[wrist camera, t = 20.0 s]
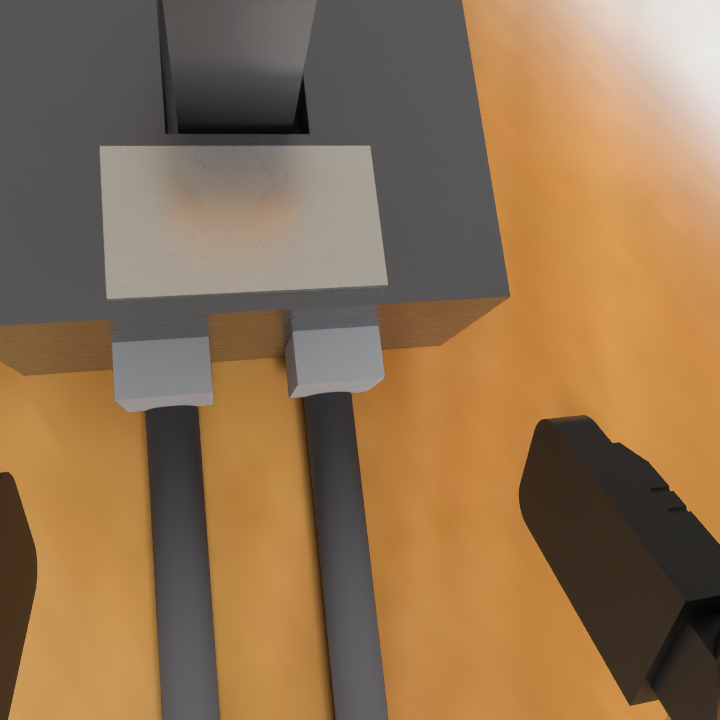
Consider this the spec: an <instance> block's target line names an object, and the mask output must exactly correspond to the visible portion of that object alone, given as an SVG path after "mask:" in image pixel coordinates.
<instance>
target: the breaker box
mask: <svg viewBox="0 0 720 720" xmlns="http://www.w3.org/2000/svg"><path fill="white" fill-rule="evenodd" d="M509 297H510V292H509V286H508V280H507V274H506V268H505V261H504V255H503V249H502V243H501V237H500V231H499V225H498V219H497V213H496V206H495V200H494V194H493V188H492V182H491V176H490V170H489V164H488V158H487V151H486V145H485V139H484V133H483V127H482V121H481V115H480V109H479V103H478V96H477V90H476V84H475V78H474V72H473V66H472V60H471V54H470V47H469V41H468V35H467V29H466V23H465V17H464V11H463V5H462V0H317V2H316V7H315V12H314V17H313V23H312V28H311V33H310V39H309V44H308V49H307V54H306V60H305V65H304V70H303V76H302V81H301V86H300V91H299V97H298V102H297V107H296V113H295V118H294V123H293V129H292V134H179V133H178V124H177V116H176V108H175V99H174V91H173V83H172V75H171V66H170V58H169V50H168V42H167V33H166V25H165V17H164V8H163V0H0V361H1V362H3V363H4V364H6V365H8V366H9V367H11V368H12V369H14V370H16V371H17V372H19V373H21V374H22V375H37V374H51V373H65V372H79V371H93V370H106V369H113V356H112V343H118V342H133V341H149V340H164V339H180V338H196V337H209V348H210V360H211V362H217V361H231V360H245V359H258V358H272V357H285V348H286V346H287V343H288V341H289V339H290V336H291V334H292V332H293V331H305V330H321V329H336V328H352V327H367V326H379V333H380V341H381V349H382V350H383V349H396V348H410V347H424V346H438V345H442V344H443V343H445V342H446V341H448V340H449V339H450V338H452V337H453V336H455V335H456V334H458V333H459V332H461V331H462V330H463V329H465V328H466V327H468V326H469V325H471V324H472V323H473V322H475V321H476V320H478V319H479V318H481V317H482V316H483V315H485V314H486V313H488V312H489V311H491V310H492V309H493V308H495V307H496V306H498V305H499V304H501V303H502V302H503V301H505V300H506V299H508V298H509Z"/></svg>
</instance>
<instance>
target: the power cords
mask: <svg viewBox="0 0 720 720" xmlns="http://www.w3.org/2000/svg"><path fill="white" fill-rule="evenodd" d="M112 356H113V377H114V399H115V401H116V402H117V403H118V404H119V405H120V406H121V407H123V408H124V409H125V410H126V411H127V412H137V411H145V413H146V431H147V449H148V467H149V485H150V503H151V521H152V539H153V557H154V575H155V593H156V611H157V629H158V647H159V665H160V683H161V701H162V719H163V720H220V713H219V699H218V685H217V670H216V656H215V642H214V628H213V614H212V599H211V585H210V571H209V557H208V543H207V528H206V514H205V500H204V486H203V472H202V457H201V443H200V429H199V415H198V407H197V406H206V405H214V400H213V386H212V373H211V360H210V348H209V337H196V338H180V339H164V340H149V341H133V342H118V343H112ZM285 361H286V371H287V381H288V392H289V398H299V397H304V398H303V399H304V409H305V419H306V429H307V439H308V449H309V459H310V469H311V479H312V489H313V498H314V508H315V518H316V528H317V538H318V548H319V558H320V568H321V578H322V588H323V598H324V608H325V618H326V628H327V638H328V648H329V658H330V668H331V678H332V688H333V698H334V708H335V718H336V720H388V711H387V702H386V693H385V685H384V676H383V667H382V658H381V650H380V641H379V632H378V623H377V615H376V606H375V597H374V588H373V579H372V571H371V562H370V553H369V544H368V536H367V527H366V518H365V509H364V501H363V492H362V483H361V474H360V466H359V457H358V448H357V439H356V430H355V422H354V413H353V404H352V395H351V393H356V392H367V391H368V390H369V389H371V388H372V387H373V386H375V385H376V384H378V383H379V382H380V381H382V380H383V379H384V378H385V373H384V365H383V357H382V349H381V341H380V333H379V326H367V327H352V328H336V329H321V330H305V331H293V332H292V334H291V336H290V339H289V341H288V343H287V346H286V348H285Z"/></svg>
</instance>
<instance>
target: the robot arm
mask: <svg viewBox="0 0 720 720" xmlns="http://www.w3.org/2000/svg"><path fill="white" fill-rule="evenodd" d="M519 503H520V508H521V513H522V516H523V519H524V521H525V523H526V525H527V527H528V529H529V530H530V532H531V534H532V536H533V537H534V539H535V541H536V543H537V544H538V546H539V548H540V550H541V551H542V553H543V555H544V556H545V558H546V560H547V562H548V563H549V565H550V567H551V569H552V570H553V572H554V574H555V576H556V577H557V579H558V581H559V583H560V584H561V586H562V588H563V590H564V591H565V593H566V595H567V597H568V598H569V600H570V602H571V604H572V605H573V607H574V609H575V611H576V612H577V614H578V616H579V618H580V619H581V621H582V623H583V625H584V626H585V628H586V630H587V632H588V633H589V635H590V637H591V639H592V640H593V642H594V644H595V646H596V647H597V649H598V651H599V653H600V654H601V656H602V658H603V660H604V661H605V663H606V665H607V667H608V668H609V670H610V672H611V674H612V675H613V677H614V679H615V681H616V682H617V684H618V686H619V688H620V689H621V691H622V693H623V695H624V696H625V698H626V700H627V702H628V703H629V705H630V706H632V705H636V704H641V703H645V702H650V701H655V700H660V702H661V704H662V705H663V707H664V709H665V710H666V712H667V713H668V715H667V717H666V719H665V720H720V544H719V543H718V542H717V541H716V540H715V539H714V538H713V536H712V535H711V534H710V533H709V532H708V531H707V529H706V528H705V527H704V526H703V525H702V524H701V522H700V521H699V520H698V519H697V518H696V517H695V516H694V514H693V513H692V512H691V511H690V512H688V511H687V509H686V505H685V504H684V503H683V502H682V500H681V499H680V498H679V497H678V496H677V495H676V493H675V492H674V491H670V490H669V485H668V484H667V483H666V482H665V481H664V480H663V478H662V477H661V476H660V475H659V474H658V473H657V471H656V470H655V469H654V468H653V467H652V466H651V464H650V463H649V462H648V461H646V460H645V459H643V458H642V457H640V456H639V455H637V454H636V453H634V452H633V451H631V450H630V449H628V448H627V447H625V446H624V445H622V444H621V443H612V442H611V441H610V440H609V439H608V437H607V436H606V435H605V434H604V432H603V431H602V430H601V429H600V428H599V426H598V425H597V424H596V423H595V422H594V421H593V420H592V419H591V418H590V417H588V416H585V415H580V416H571V417H561V418H551V419H543V420H541V421H539V423H538V424H537V426H536V428H535V431H534V434H533V438H532V442H531V445H530V449H529V453H528V457H527V460H526V464H525V468H524V471H523V475H522V479H521V483H520V487H519ZM36 583H37V556H36V549H35V545H34V541H33V538H32V535H31V531H30V528H29V525H28V522H27V519H26V515H25V512H24V509H23V506H22V503H21V499H20V496H19V493H18V490H17V486H16V483H15V481H14V478H13V476H12V475H11V474H10V473H9V472H2V473H0V720H8V717H9V712H10V707H11V703H12V698H13V693H14V689H15V684H16V679H17V675H18V670H19V665H20V661H21V656H22V651H23V647H24V642H25V637H26V632H27V628H28V623H29V618H30V614H31V609H32V604H33V600H34V595H35V590H36Z"/></svg>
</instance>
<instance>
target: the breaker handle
mask: <svg viewBox="0 0 720 720" xmlns="http://www.w3.org/2000/svg"><path fill="white" fill-rule="evenodd" d="M316 2H317V0H163V8H164V17H165V25H166V33H167V42H168V50H169V58H170V66H171V75H172V83H173V91H174V99H175V108H176V116H177V124H178V133H179V134H292V129H293V123H294V118H295V113H296V107H297V102H298V97H299V91H300V86H301V81H302V76H303V70H304V65H305V60H306V54H307V49H308V44H309V39H310V33H311V28H312V23H313V17H314V12H315V7H316Z"/></svg>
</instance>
